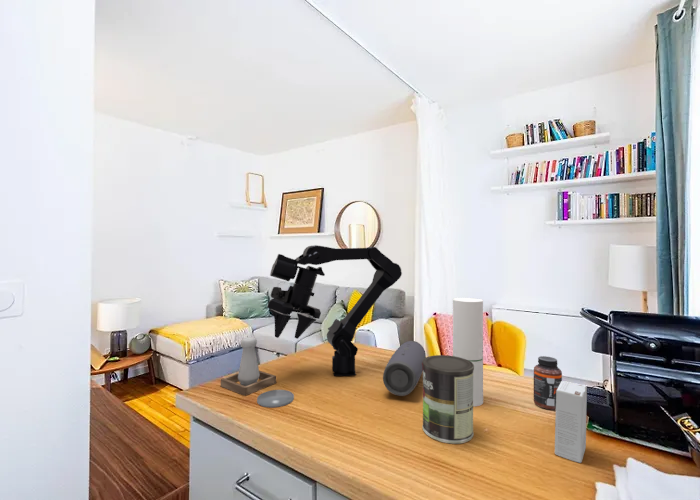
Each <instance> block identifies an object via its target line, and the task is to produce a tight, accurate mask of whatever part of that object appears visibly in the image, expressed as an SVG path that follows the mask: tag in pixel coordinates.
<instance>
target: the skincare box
mask: <svg viewBox="0 0 700 500" xmlns="http://www.w3.org/2000/svg"><path fill="white" fill-rule="evenodd" d="M587 391H588V387H587V385H585V384H579V383H576V382H570V381H566V380H565V381H564V380H562V381H561V383H560V385H559V387H558V389H557V390H556V410H555V421H554V422H555V423H554V426H555V427H554V428H555V429H554V454H555V455H556V456H559V457H560V458H564V459H567V460H569V461H572V462H575V463H580V464H581V463H582V462H583V459H584V456H585V455H584V454H585V452H586V448H587V442H586V441H587V405H588V403H587V400H588V399H587V398H588V392H587Z"/></svg>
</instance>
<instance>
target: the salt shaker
mask: <svg viewBox="0 0 700 500" xmlns="http://www.w3.org/2000/svg"><path fill="white" fill-rule="evenodd" d="M257 344H258V341H257V338H256V337H252V336H246V337H244V338H242V339H241V340H240V347H241V348H242V352H241V358H240V362H239V363H240V365H239V368H238V372H237V373H238V380H239V381H238V382H239V384H241V385H243V386H248V385H250V384H253V383H256V382H258V381H259V380H260V379H259V376H260V373H259V371H260V370H259V364H258V358H257V353H256V346H257Z"/></svg>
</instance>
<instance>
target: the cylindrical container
mask: <svg viewBox="0 0 700 500" xmlns="http://www.w3.org/2000/svg"><path fill="white" fill-rule="evenodd" d="M452 356H455V357H460V358H463V359H466V360H468V361H470V362H472V363H473V364H474V370H473V407H479V406H481V405H483V404H484V300H483V299H480V298H474V297H455V298H452Z"/></svg>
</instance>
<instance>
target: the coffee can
mask: <svg viewBox="0 0 700 500" xmlns="http://www.w3.org/2000/svg"><path fill="white" fill-rule="evenodd" d="M422 364H423V371H422V430H423V432H424V433H425V435H426V436H428V437H429V438H431V439H433V440H435V441H437V442H439V443H444V444H449V445H451V444H452V445H459V444H465V443H467V442H469V441H471V440H472V439H473V438H474V406H473V370H474V364H473V363H472V362H470V361H468V360H466V359H463V358H460V357H455V356H453V355H446V354H439V355H437V354H436V355H430V356H426V358H424V359H423V361H422Z"/></svg>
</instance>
